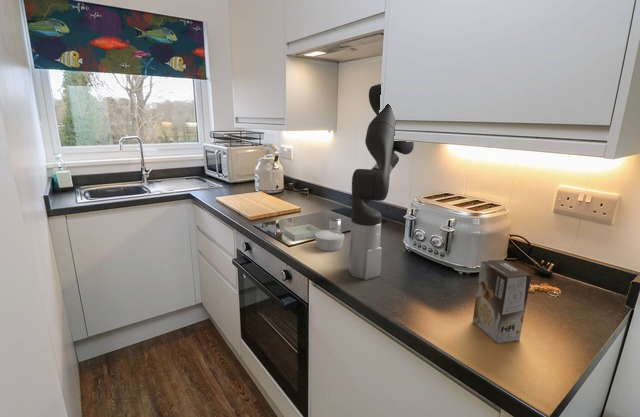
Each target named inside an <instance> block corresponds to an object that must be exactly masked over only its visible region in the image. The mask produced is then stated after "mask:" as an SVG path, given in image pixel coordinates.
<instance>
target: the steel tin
mask: <svg viewBox="0 0 640 417" xmlns="http://www.w3.org/2000/svg"><path fill="white" fill-rule="evenodd" d="M328 220H329V221H328V222H329V223H328V230H334V231H338V232H341V233H342V220H343V217H341V216H336V215H333V216H329V217H328Z"/></svg>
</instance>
